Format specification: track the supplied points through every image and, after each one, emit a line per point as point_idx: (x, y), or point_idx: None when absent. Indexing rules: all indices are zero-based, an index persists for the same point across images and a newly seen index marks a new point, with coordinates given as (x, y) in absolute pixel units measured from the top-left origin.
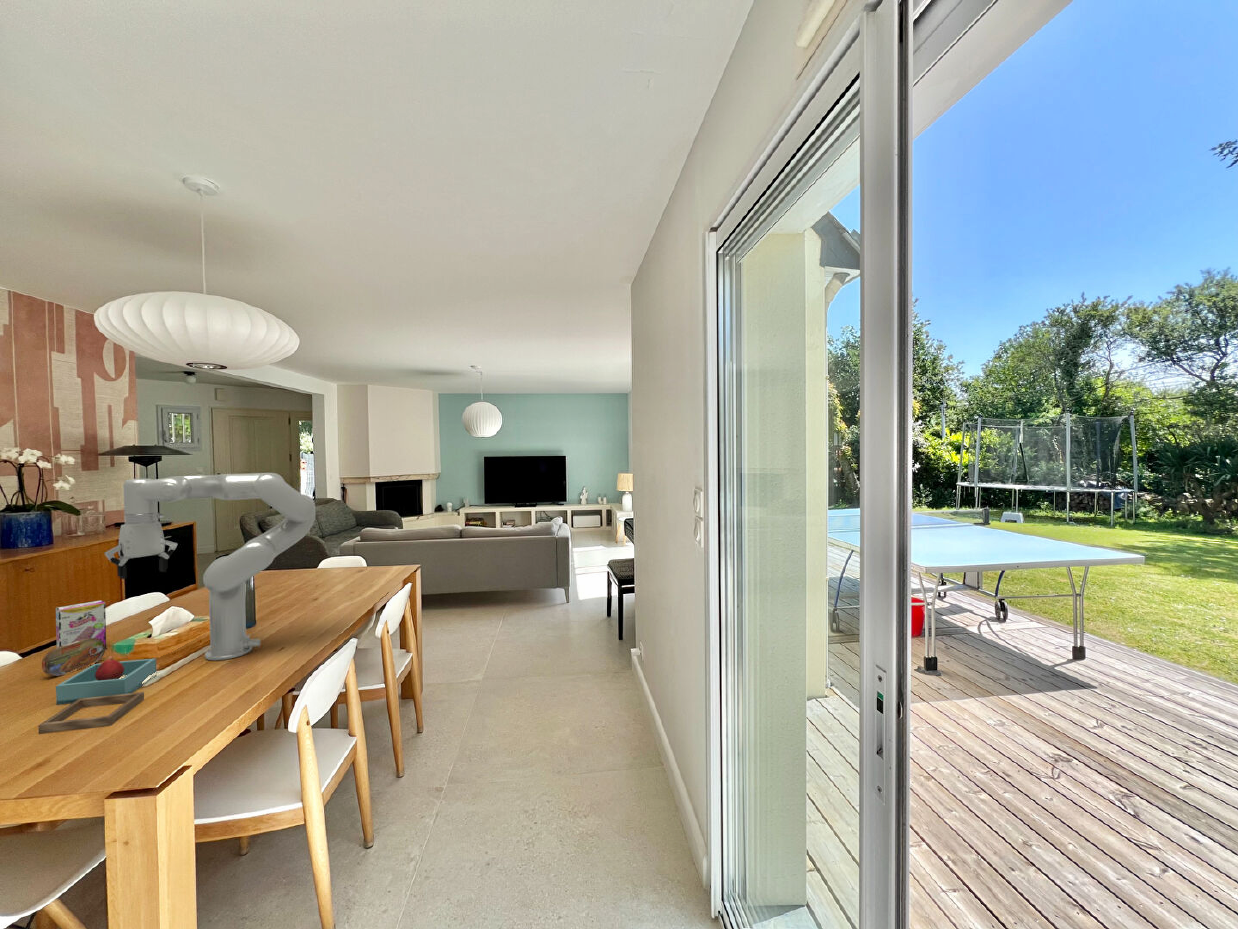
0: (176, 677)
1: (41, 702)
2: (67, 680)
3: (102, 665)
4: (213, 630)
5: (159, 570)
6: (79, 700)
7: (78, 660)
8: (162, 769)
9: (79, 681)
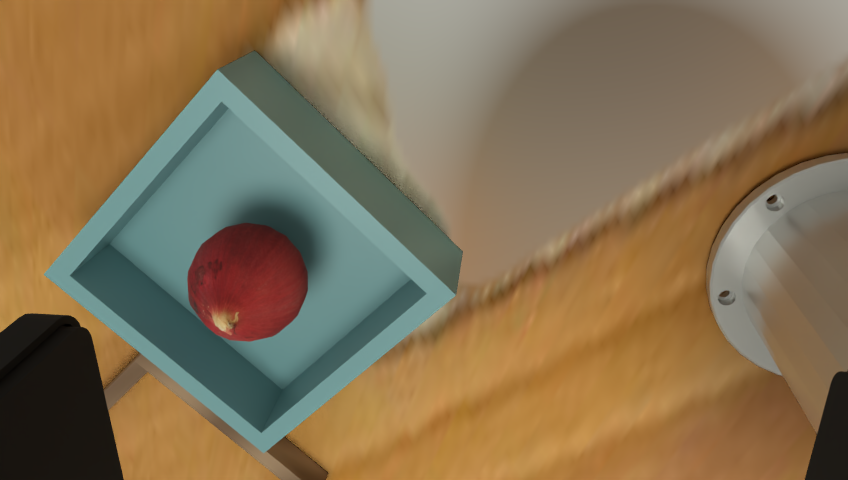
0: (498, 362)
1: (50, 138)
2: (86, 239)
3: (198, 315)
4: (796, 382)
5: (844, 375)
6: (139, 371)
7: None
8: None
9: (151, 189)
